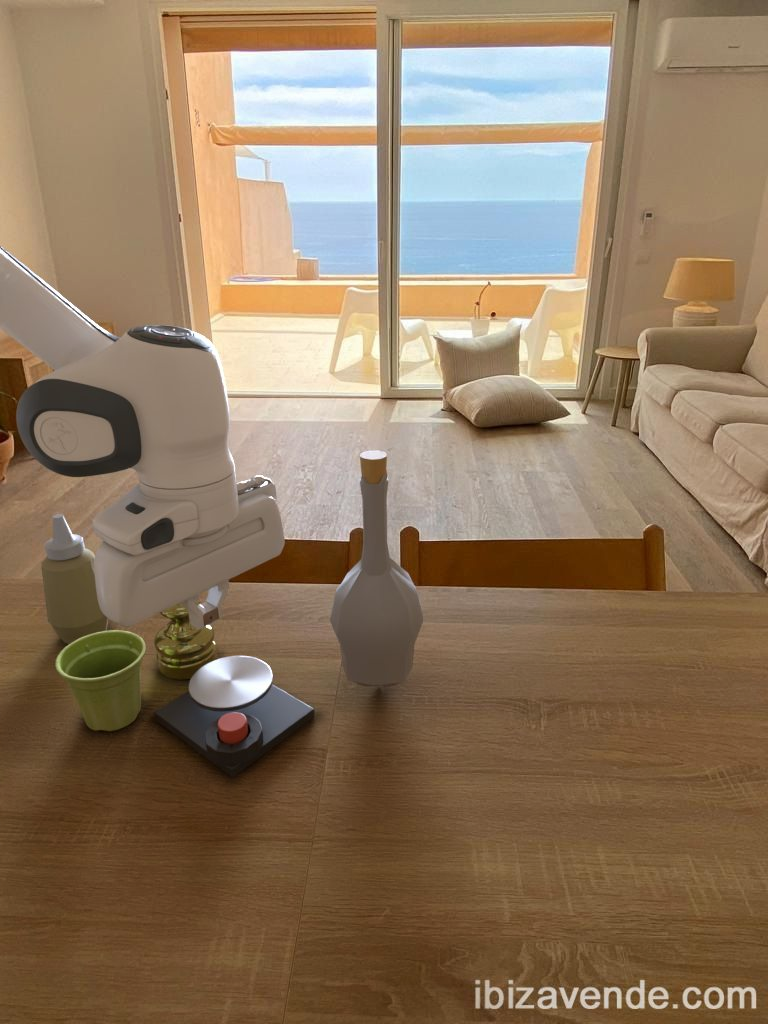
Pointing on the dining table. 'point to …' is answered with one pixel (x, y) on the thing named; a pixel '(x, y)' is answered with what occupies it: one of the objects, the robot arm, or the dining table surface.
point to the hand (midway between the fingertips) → (206, 622)
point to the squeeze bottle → (70, 585)
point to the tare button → (232, 728)
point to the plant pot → (105, 677)
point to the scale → (264, 723)
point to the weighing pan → (230, 683)
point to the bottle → (376, 595)
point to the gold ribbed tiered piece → (183, 645)
